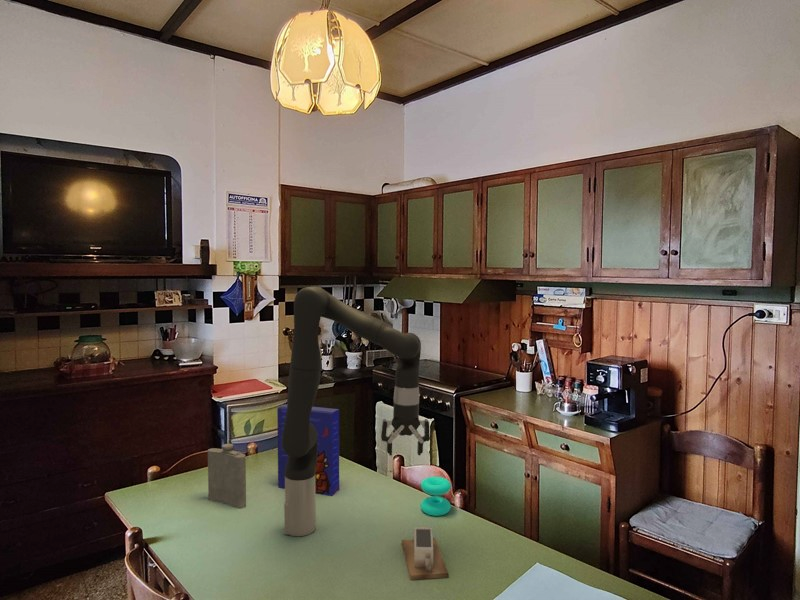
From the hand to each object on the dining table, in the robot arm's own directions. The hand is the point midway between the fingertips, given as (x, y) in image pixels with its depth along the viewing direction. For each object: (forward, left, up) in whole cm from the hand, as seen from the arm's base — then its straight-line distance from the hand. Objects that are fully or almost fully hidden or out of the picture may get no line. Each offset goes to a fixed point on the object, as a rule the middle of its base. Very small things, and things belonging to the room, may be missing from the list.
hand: (404, 454), depth 157 cm
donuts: (+13, +16, -26) cm, 33 cm away
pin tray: (+4, -13, -25) cm, 29 cm away
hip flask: (-57, +30, -26) cm, 70 cm away
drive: (+4, -13, -24) cm, 27 cm away
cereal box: (-30, +38, -26) cm, 55 cm away
